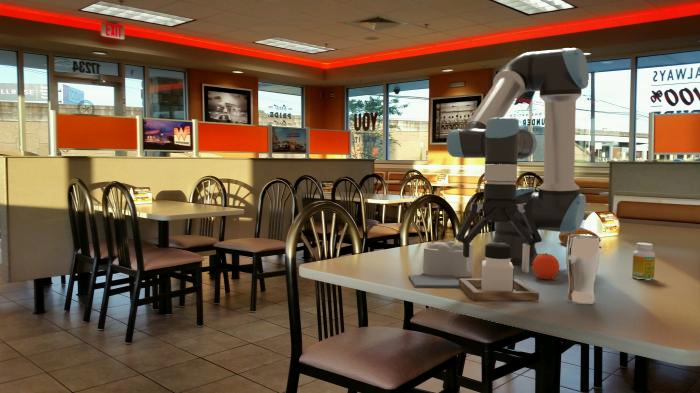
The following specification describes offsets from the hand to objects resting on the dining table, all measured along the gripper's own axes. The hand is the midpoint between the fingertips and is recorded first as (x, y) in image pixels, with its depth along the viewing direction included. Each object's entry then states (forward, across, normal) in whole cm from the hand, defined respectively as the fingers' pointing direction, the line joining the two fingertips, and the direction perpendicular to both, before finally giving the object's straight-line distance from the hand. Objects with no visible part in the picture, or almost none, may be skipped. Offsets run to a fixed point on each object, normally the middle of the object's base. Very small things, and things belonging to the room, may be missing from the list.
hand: (497, 271), depth 137 cm
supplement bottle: (+5, -46, -18) cm, 50 cm away
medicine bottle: (+6, 0, 0) cm, 6 cm away
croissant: (+6, -55, -79) cm, 97 cm away
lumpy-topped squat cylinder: (+6, +7, -23) cm, 25 cm away
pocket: (+5, 0, 0) cm, 5 cm away
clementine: (+6, -18, -17) cm, 25 cm away
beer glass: (+6, -17, +8) cm, 20 cm away
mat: (+5, +13, -11) cm, 18 cm away
